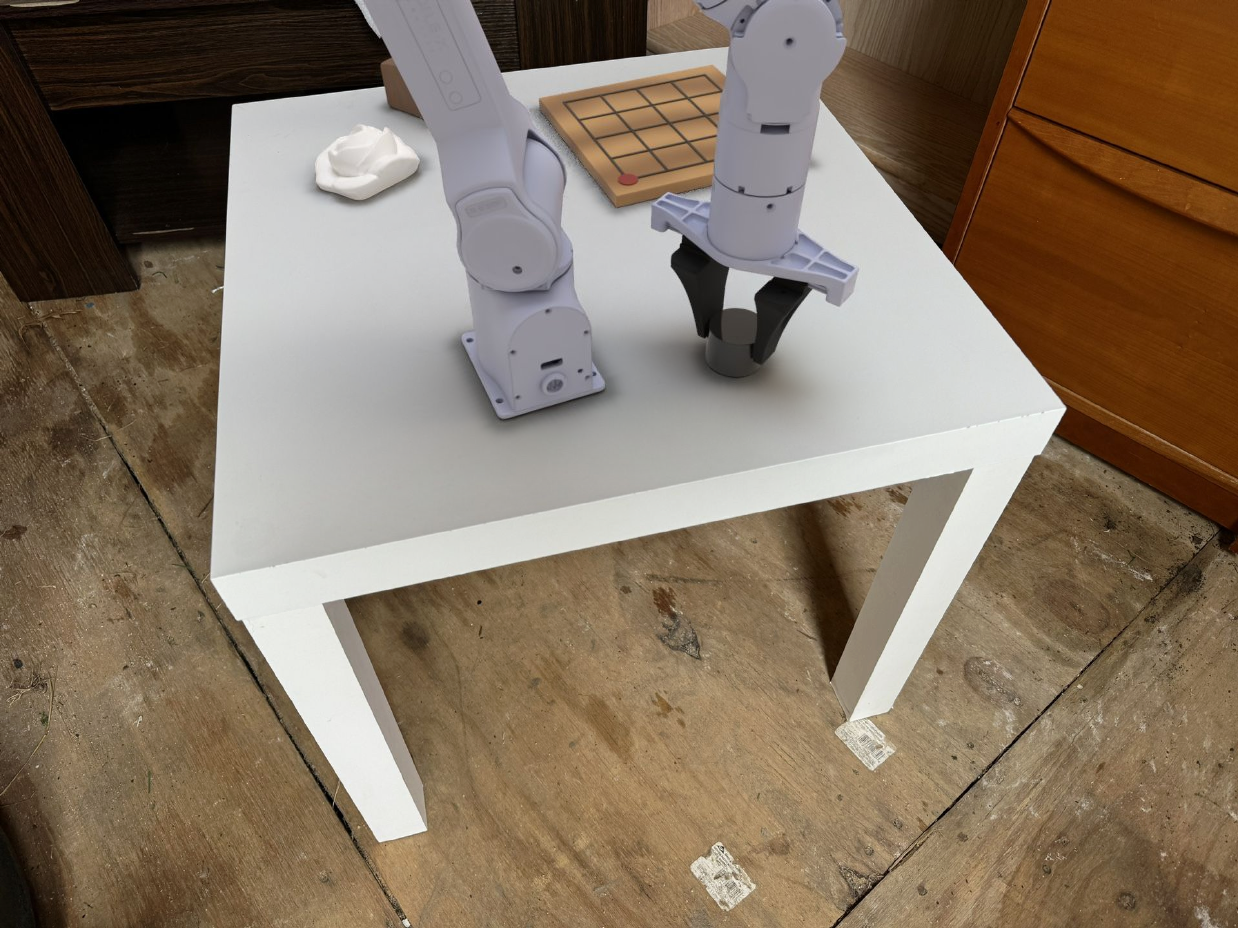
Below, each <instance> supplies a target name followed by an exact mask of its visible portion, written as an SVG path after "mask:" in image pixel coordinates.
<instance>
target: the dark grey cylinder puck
mask: <svg viewBox="0 0 1238 928" xmlns="http://www.w3.org/2000/svg"><path fill="white" fill-rule="evenodd" d="M756 332H757V312H755V311H753V310H751V309H748V308H743V307H728V308H723V310H721V311H719V312H717V313H715V314H714V315H713V316H712V317H711V319H710V321H709V326H708V335H707V337H706V347H705V353H704V354H705V356H704V357H705V361H706V363H707V364H708V366H709V367H710V368H711V370H713V371H714V372H716V373H718V374H720V375H723V376H726V377H731V378H732V377H734V378H740V377H746V376H749V375H752V374H754V373H756V372H757V371H758V370H759V369H760V368H761V366H762V365H759V364H757V363H755V362H753V349H754V343H755V338H756Z"/></svg>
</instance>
